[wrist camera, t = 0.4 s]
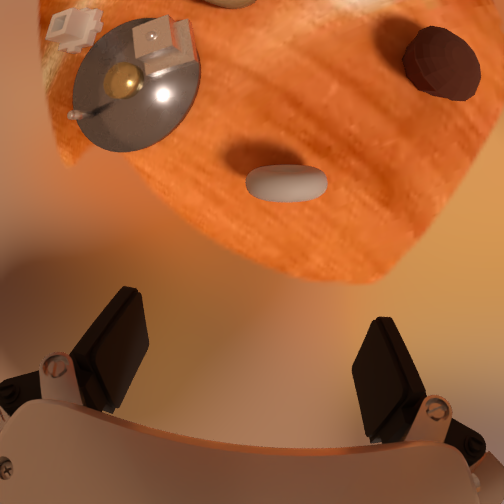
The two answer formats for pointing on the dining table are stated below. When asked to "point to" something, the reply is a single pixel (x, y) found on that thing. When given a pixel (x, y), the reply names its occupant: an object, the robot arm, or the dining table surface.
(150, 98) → the carrier
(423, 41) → the muffin
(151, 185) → the dining table surface
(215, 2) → the bread roll
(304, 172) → the donut
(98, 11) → the hollow square tube block
